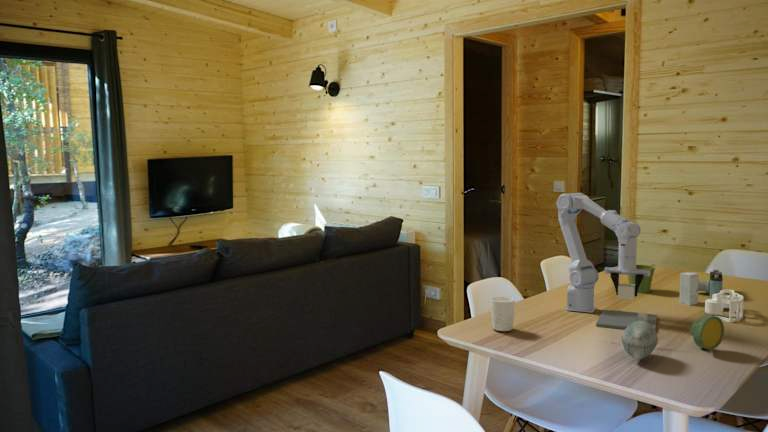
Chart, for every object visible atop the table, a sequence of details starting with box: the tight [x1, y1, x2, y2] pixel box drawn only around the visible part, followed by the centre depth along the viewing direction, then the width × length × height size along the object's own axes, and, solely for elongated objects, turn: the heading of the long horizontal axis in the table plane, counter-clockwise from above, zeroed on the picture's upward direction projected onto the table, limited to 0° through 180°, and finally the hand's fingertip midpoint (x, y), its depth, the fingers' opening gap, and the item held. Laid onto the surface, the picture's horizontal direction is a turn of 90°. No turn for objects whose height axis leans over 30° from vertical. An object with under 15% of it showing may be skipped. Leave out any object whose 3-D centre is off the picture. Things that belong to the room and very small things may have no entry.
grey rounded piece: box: [621, 321, 659, 360], centre depth 166 cm, size 14×10×10 cm
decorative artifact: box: [689, 313, 725, 351], centre depth 173 cm, size 10×7×10 cm
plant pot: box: [627, 264, 657, 294], centre depth 241 cm, size 12×12×11 cm
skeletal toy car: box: [704, 289, 745, 323], centre depth 207 cm, size 20×11×7 cm, turn 139°
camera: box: [698, 268, 724, 299], centre depth 236 cm, size 16×10×10 cm, turn 151°
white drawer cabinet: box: [617, 283, 636, 301], centre depth 200 cm, size 5×5×5 cm
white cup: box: [490, 296, 516, 332], centre depth 194 cm, size 8×8×10 cm
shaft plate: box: [595, 309, 658, 331], centre depth 200 cm, size 18×20×4 cm
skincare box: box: [678, 271, 699, 307], centre depth 222 cm, size 6×4×12 cm
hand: (626, 295), depth 200 cm, fingers closed on white drawer cabinet, 5 cm apart
